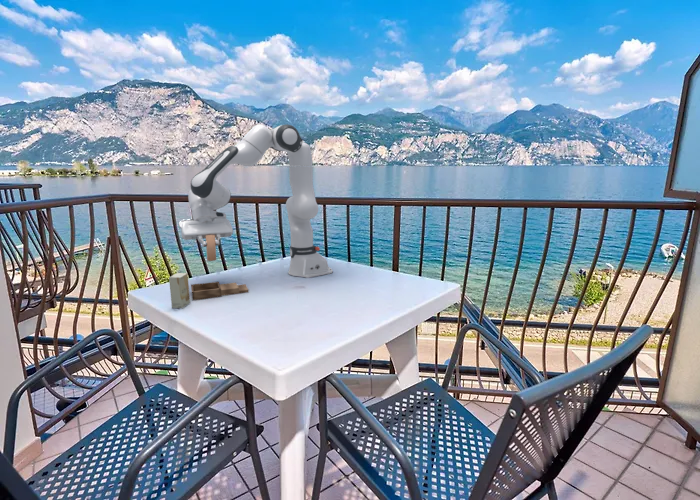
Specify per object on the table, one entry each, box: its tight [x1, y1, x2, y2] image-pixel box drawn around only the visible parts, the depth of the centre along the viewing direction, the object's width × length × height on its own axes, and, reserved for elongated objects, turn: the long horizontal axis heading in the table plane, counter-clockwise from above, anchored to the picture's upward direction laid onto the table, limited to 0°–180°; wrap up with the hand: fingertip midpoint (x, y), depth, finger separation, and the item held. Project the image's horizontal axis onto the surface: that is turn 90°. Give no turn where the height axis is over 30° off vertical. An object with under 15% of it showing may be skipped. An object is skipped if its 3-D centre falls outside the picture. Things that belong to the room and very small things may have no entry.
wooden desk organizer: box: [190, 281, 250, 301], centre depth 148 cm, size 22×10×4 cm, turn 115°
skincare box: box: [168, 272, 191, 309], centre depth 133 cm, size 6×4×12 cm
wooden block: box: [205, 235, 217, 262], centre depth 146 cm, size 4×4×10 cm
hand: (211, 245), depth 145 cm, fingers closed on wooden block, 4 cm apart
